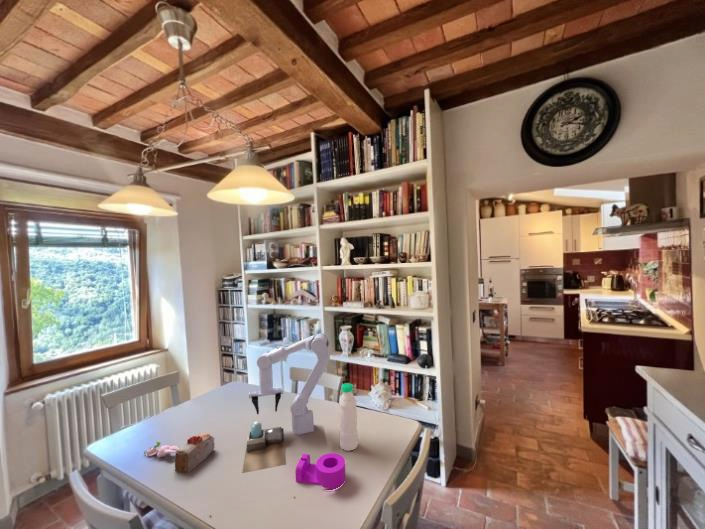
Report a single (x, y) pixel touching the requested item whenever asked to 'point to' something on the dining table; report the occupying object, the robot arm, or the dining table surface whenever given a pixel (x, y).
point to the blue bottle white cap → (256, 430)
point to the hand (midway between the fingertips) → (267, 411)
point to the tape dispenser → (322, 471)
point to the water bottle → (348, 418)
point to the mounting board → (265, 457)
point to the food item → (193, 452)
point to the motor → (265, 439)
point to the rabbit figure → (161, 450)
